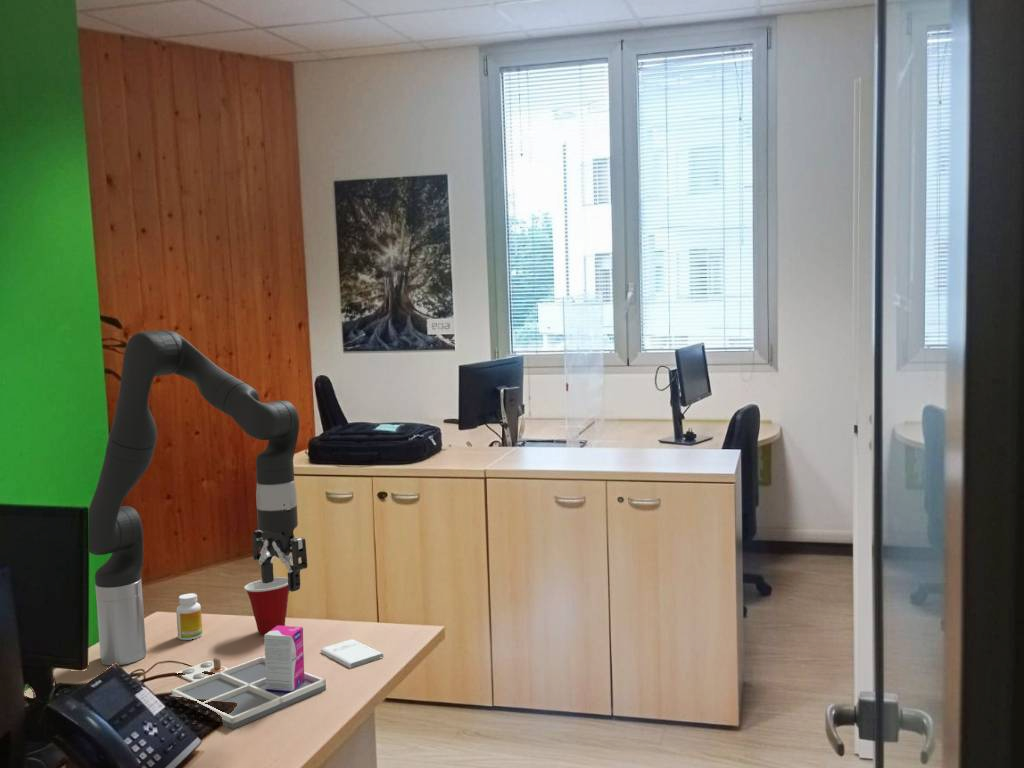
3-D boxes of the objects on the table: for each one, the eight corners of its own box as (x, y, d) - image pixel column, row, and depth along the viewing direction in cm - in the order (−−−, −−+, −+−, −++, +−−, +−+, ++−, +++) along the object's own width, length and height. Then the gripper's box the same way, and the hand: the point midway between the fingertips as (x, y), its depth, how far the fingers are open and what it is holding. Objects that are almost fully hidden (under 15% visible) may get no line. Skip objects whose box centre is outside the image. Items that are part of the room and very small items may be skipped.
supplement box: (293, 694, 175) (290, 636, 174) (265, 692, 176) (261, 635, 175) (306, 681, 181) (303, 625, 180) (278, 680, 182) (275, 624, 181)
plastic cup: (270, 621, 220) (268, 572, 219) (304, 627, 215) (301, 578, 214) (236, 635, 211) (233, 585, 210) (270, 643, 205) (267, 591, 204)
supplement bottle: (207, 635, 212) (204, 594, 211) (186, 642, 207) (183, 601, 207) (194, 630, 215) (191, 590, 214) (173, 637, 211) (170, 597, 210)
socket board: (171, 699, 177) (171, 689, 176) (263, 665, 192) (263, 655, 192) (232, 729, 163) (232, 718, 163) (326, 689, 179) (325, 679, 179)
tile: (175, 674, 189) (174, 661, 189) (209, 662, 195) (209, 649, 195) (196, 683, 184) (195, 670, 184) (230, 670, 190) (229, 658, 190)
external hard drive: (350, 671, 189) (321, 654, 199) (383, 660, 195) (353, 645, 204) (350, 663, 189) (320, 647, 199) (383, 652, 195) (353, 637, 204)
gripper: (238, 503, 177) (243, 584, 178) (282, 512, 168) (287, 598, 169) (271, 496, 183) (275, 575, 184) (315, 505, 173) (319, 588, 175)
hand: (281, 586), depth 177 cm, fingers open, 8 cm apart
